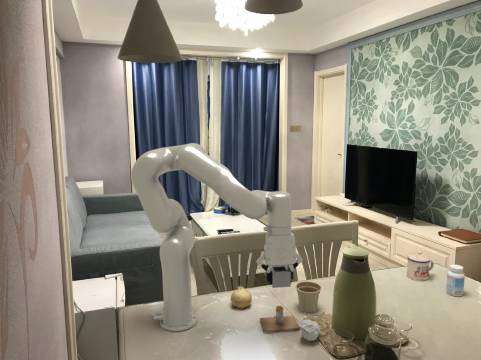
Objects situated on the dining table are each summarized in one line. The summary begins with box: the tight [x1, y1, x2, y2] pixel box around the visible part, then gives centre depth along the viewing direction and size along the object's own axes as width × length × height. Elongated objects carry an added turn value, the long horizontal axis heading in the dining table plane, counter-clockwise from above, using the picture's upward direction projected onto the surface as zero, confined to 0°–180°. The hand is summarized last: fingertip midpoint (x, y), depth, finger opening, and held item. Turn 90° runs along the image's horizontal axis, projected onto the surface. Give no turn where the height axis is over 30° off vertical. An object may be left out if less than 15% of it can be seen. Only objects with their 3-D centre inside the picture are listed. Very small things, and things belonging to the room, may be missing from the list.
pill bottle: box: [445, 264, 466, 297], centre depth 155 cm, size 6×6×11 cm
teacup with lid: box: [406, 250, 435, 282], centre depth 171 cm, size 12×9×12 cm
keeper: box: [259, 305, 301, 334], centre depth 133 cm, size 12×8×6 cm, turn 97°
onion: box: [230, 285, 253, 309], centre depth 147 cm, size 8×8×7 cm
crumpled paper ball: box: [299, 318, 321, 342], centre depth 124 cm, size 6×7×7 cm
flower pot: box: [295, 280, 322, 313], centre depth 144 cm, size 9×9×9 cm
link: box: [271, 265, 292, 289], centre depth 130 cm, size 6×6×5 cm
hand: (279, 281), depth 131 cm, fingers closed on link, 6 cm apart
